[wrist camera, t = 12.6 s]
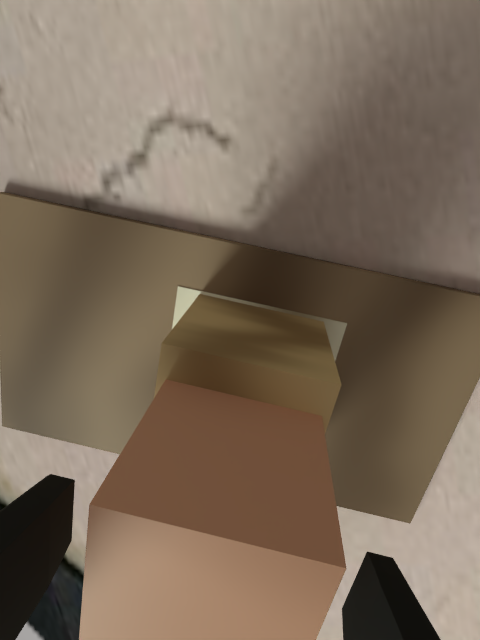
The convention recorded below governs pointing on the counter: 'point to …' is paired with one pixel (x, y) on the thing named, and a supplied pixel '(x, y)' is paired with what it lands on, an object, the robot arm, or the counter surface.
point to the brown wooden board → (239, 286)
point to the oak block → (252, 355)
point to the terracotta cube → (214, 525)
